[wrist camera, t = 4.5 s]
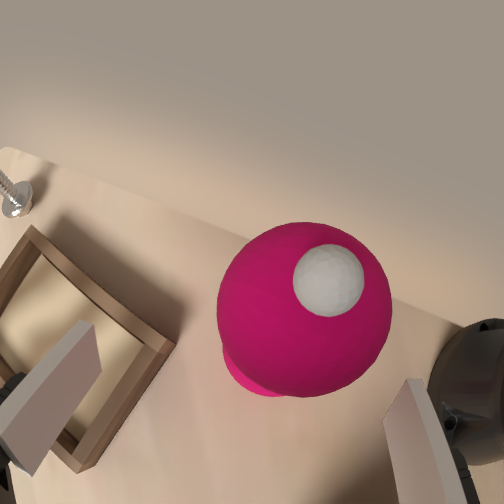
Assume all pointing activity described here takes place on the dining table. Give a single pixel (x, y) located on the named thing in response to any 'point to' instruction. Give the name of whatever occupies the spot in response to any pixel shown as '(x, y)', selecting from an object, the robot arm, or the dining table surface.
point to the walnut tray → (58, 324)
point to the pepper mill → (302, 311)
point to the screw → (15, 197)
